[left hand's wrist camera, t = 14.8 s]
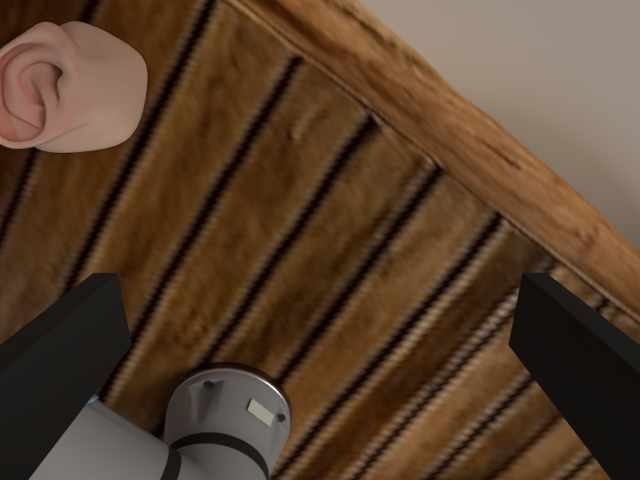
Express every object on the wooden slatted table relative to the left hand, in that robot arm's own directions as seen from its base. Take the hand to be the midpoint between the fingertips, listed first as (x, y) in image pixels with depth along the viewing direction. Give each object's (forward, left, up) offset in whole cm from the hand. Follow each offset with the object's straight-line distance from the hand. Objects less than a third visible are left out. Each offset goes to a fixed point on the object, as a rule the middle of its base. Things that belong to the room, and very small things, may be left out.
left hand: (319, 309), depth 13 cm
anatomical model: (-5, +23, -27) cm, 36 cm away
